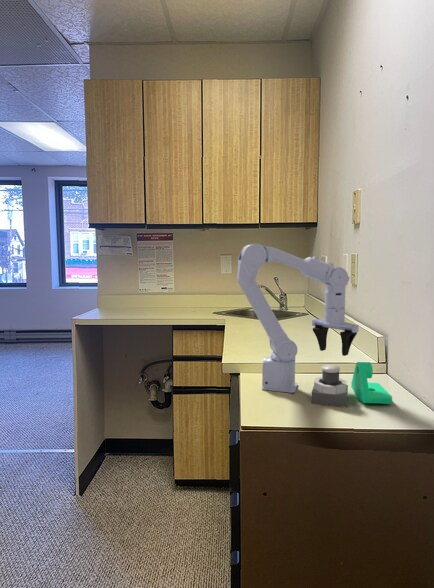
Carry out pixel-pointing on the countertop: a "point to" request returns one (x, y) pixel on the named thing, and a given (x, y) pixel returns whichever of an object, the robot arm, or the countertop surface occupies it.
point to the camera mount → (368, 385)
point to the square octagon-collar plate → (330, 393)
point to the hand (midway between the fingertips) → (333, 352)
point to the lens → (330, 375)
